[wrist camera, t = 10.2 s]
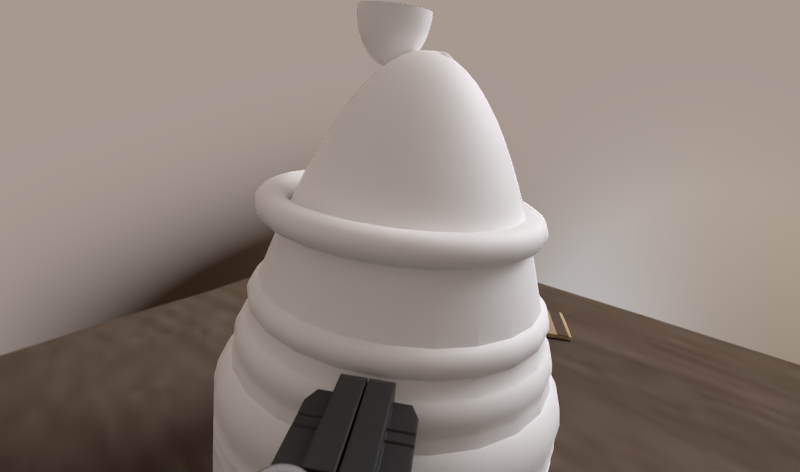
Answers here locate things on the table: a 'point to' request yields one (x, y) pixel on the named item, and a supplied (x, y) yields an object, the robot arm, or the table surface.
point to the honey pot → (399, 274)
